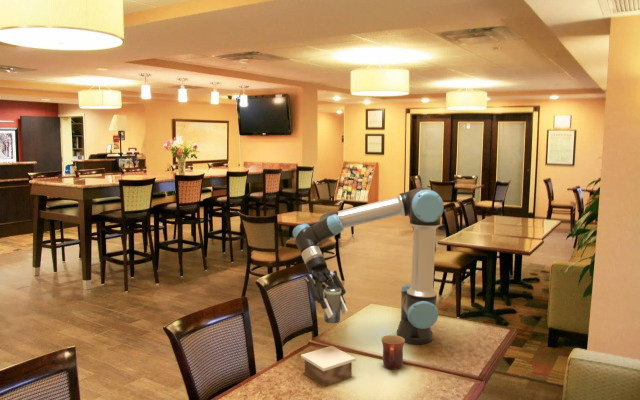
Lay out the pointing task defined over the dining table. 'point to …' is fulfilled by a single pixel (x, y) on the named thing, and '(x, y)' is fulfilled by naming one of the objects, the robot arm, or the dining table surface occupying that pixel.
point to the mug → (392, 351)
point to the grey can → (333, 303)
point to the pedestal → (328, 365)
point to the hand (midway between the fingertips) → (338, 314)
